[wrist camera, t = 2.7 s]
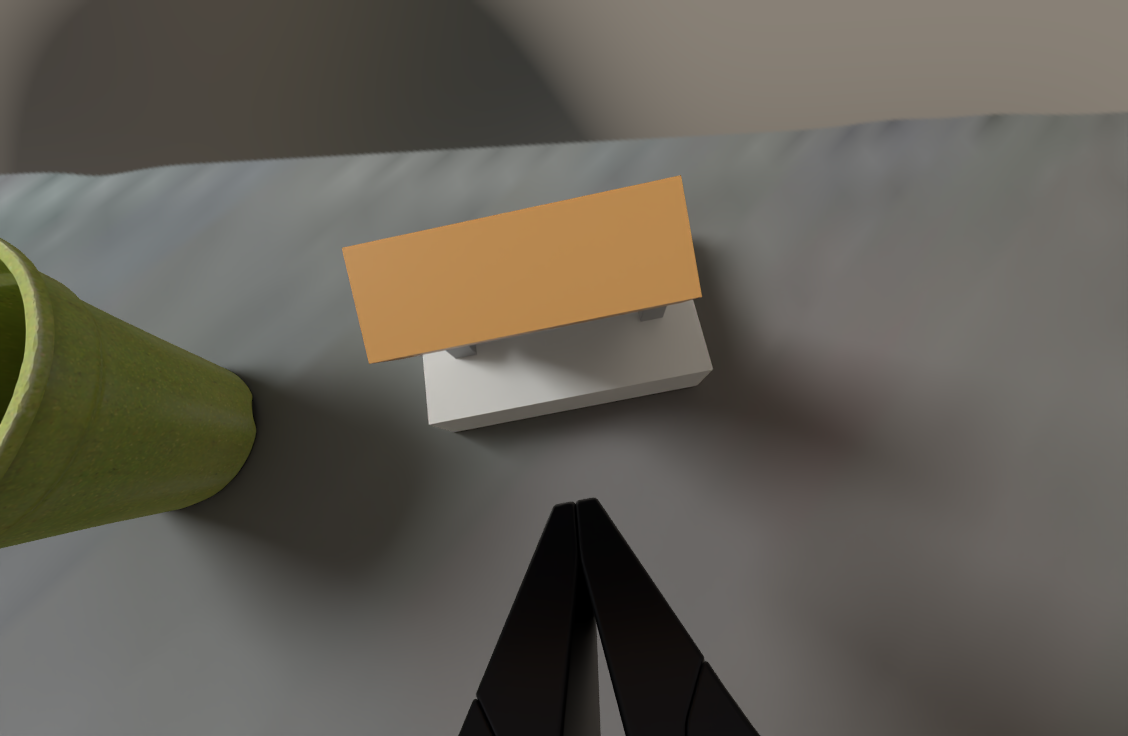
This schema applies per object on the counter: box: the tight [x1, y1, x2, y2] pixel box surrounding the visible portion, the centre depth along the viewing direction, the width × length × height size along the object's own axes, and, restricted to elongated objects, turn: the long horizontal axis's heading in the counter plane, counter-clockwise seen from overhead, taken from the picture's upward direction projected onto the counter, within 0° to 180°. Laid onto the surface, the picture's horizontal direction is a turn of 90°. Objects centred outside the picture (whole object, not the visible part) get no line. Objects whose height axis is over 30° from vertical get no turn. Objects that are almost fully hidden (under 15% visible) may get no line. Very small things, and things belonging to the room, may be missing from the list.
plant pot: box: [0, 238, 256, 548], centre depth 14 cm, size 9×9×9 cm
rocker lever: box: [342, 175, 702, 364], centre depth 10 cm, size 2×5×8 cm, turn 100°
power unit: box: [423, 300, 713, 432], centre depth 16 cm, size 7×10×4 cm
